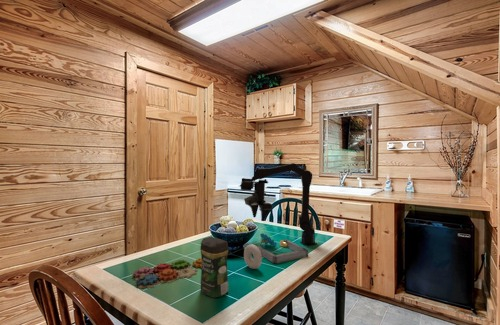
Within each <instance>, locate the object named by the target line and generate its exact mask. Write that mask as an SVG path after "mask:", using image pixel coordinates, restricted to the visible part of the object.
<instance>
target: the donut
mask: <svg viewBox="0 0 500 325" xmlns="http://www.w3.org/2000/svg"><path fill="white" fill-rule="evenodd" d="M252 255H253V256H252ZM243 259H244V262H245V264H246V266H247V267H249V268H250V269H253V270H257V269H258V268H259V267H261V264H262V261H263V256H262V255H261V252H260V250H259V248H258V246H257V245H255V244H252V243H251V244H247V245H246V246H245V247H244V251H243Z"/></svg>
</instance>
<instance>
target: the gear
mask: <svg viewBox="0 0 500 325" xmlns="http://www.w3.org/2000/svg"><path fill="white" fill-rule="evenodd" d="M263 243H264V244H263ZM262 244H263V246H262V248H264V249H265V248H266V246H267V245H268V244H269V245H270V246H272V247H277V246H278V245H277V242H275V240H274V239H272V237H270V236H268V235H267V234H264V233H260V243H259V244H258V246H261V245H262Z"/></svg>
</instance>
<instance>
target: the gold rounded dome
mask: <svg viewBox="0 0 500 325" xmlns="http://www.w3.org/2000/svg"><path fill="white" fill-rule="evenodd" d="M286 241H290V242H292V241H291V240H288V239H286V238H285V239H283V240H282V239H281V240H280V241H279V246H280V247H281V248H285V249H286V248H287V243H286ZM287 249H288V248H287Z"/></svg>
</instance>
